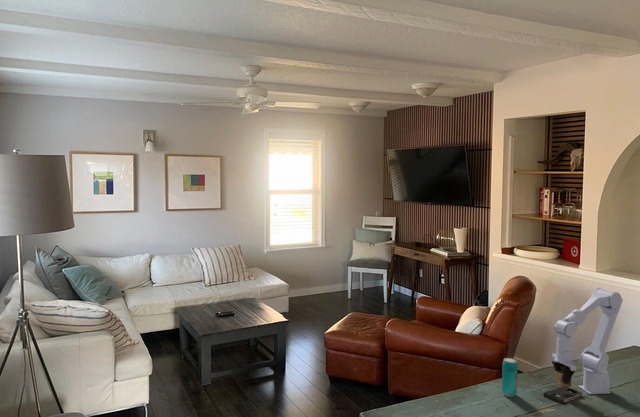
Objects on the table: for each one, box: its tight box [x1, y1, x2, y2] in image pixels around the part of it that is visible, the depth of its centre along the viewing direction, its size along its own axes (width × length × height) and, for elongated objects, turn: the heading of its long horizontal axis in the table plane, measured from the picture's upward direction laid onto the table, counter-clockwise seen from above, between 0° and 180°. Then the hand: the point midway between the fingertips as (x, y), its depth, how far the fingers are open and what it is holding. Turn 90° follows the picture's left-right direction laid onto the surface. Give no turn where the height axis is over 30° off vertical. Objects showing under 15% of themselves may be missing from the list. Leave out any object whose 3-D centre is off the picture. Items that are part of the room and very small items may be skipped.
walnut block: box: [554, 370, 572, 388], centre depth 209 cm, size 4×4×5 cm
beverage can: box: [501, 357, 518, 398], centre depth 210 cm, size 6×6×15 cm
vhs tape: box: [543, 387, 583, 404], centre depth 209 cm, size 14×8×2 cm, turn 118°
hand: (563, 380), depth 209 cm, fingers closed on walnut block, 4 cm apart
